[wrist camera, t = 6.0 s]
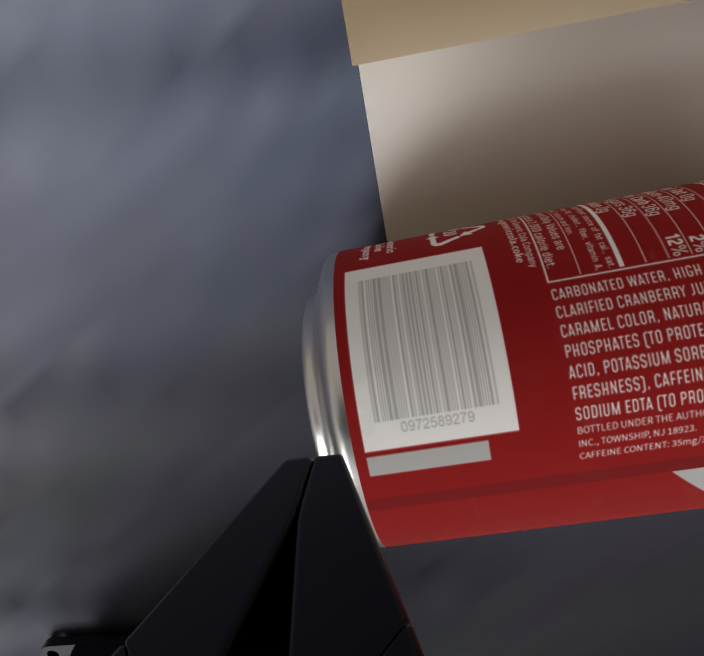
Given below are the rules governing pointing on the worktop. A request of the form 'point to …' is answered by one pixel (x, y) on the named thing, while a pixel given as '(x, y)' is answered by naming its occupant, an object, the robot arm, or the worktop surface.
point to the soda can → (517, 369)
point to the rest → (526, 104)
